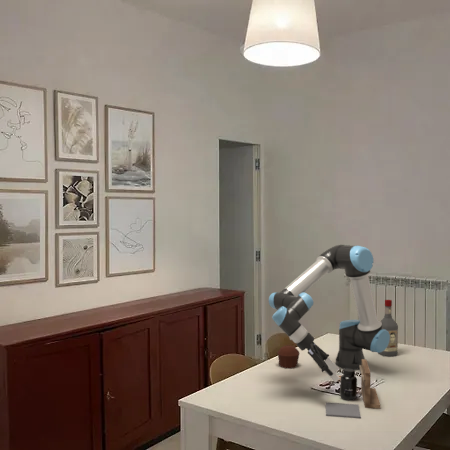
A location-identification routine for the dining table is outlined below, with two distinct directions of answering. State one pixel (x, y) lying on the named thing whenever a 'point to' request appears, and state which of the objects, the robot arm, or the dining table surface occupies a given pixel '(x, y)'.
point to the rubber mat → (342, 410)
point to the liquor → (390, 331)
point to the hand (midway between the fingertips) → (337, 375)
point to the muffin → (288, 356)
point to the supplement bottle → (348, 384)
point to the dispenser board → (368, 387)
